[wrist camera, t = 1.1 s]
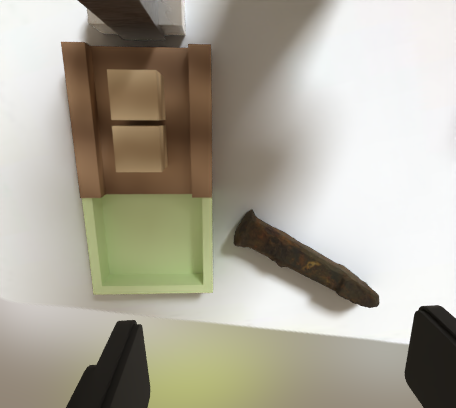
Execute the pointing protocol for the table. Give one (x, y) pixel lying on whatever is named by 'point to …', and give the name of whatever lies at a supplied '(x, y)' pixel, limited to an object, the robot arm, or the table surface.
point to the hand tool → (303, 260)
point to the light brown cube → (136, 94)
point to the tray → (149, 243)
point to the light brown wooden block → (140, 148)
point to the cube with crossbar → (137, 18)
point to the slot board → (175, 120)
